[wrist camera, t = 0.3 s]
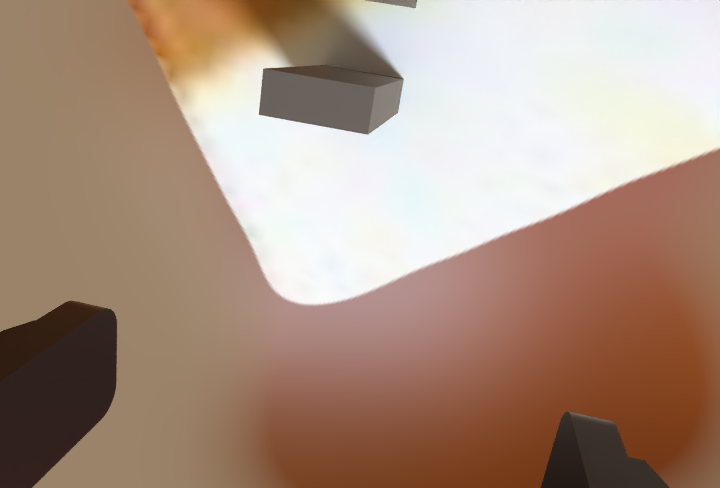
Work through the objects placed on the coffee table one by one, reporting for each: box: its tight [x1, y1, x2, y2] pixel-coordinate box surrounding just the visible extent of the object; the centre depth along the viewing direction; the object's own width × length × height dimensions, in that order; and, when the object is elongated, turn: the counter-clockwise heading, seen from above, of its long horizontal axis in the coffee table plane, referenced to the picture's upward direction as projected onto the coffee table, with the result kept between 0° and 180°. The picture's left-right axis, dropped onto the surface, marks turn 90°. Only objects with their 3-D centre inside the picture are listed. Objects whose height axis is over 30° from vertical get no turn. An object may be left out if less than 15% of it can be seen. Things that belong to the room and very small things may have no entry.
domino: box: [259, 65, 403, 134], centre depth 32 cm, size 2×5×11 cm, turn 81°
